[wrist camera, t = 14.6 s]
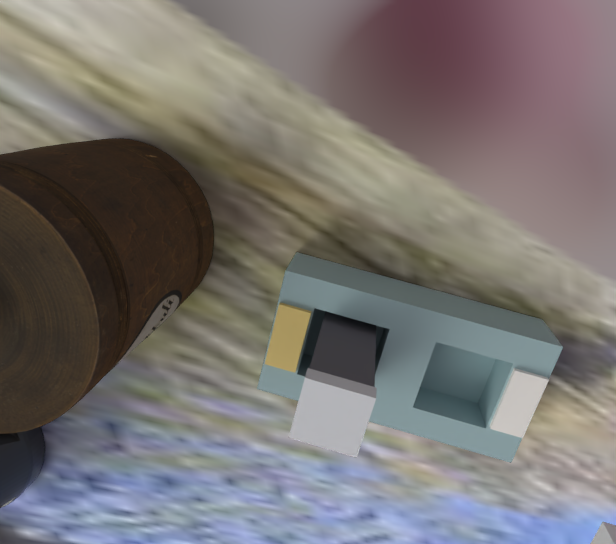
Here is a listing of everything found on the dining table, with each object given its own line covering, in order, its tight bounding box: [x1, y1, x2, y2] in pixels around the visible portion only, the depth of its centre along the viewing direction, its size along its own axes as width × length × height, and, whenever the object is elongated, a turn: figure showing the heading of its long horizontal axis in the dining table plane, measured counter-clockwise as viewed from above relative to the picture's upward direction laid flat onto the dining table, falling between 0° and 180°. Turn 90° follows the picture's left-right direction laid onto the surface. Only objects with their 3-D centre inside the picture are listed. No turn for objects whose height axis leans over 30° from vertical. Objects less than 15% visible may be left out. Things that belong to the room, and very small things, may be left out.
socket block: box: [257, 252, 563, 463], centre depth 41 cm, size 10×20×5 cm, turn 76°
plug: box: [289, 311, 377, 458], centre depth 36 cm, size 4×4×12 cm
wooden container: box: [0, 139, 214, 434], centre depth 33 cm, size 15×15×22 cm
